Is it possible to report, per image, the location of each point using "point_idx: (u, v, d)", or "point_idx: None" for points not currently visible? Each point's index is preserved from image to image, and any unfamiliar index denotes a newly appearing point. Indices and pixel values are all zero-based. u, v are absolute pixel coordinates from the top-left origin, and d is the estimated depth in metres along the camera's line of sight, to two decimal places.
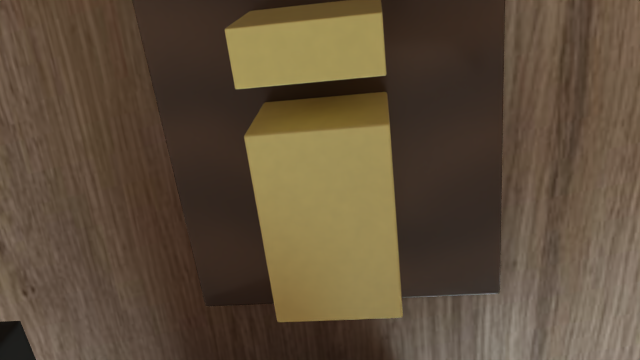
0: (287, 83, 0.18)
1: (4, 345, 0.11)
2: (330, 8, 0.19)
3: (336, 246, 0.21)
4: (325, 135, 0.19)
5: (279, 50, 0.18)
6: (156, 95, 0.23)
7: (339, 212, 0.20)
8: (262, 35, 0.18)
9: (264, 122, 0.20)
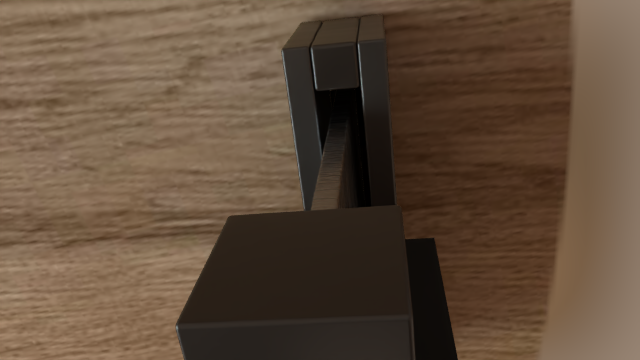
0: None
1: None
2: None
3: None
4: None
5: None
6: None
7: None
8: None
9: None
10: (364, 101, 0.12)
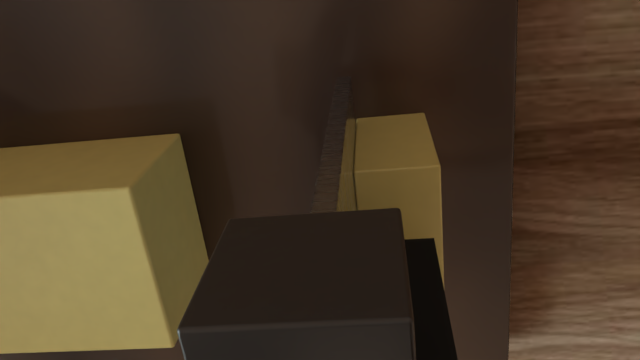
0: None
1: None
2: None
3: None
4: (148, 284, 0.15)
5: (406, 231, 0.14)
6: None
7: (45, 295, 0.15)
8: (427, 212, 0.13)
9: (152, 186, 0.15)
10: None
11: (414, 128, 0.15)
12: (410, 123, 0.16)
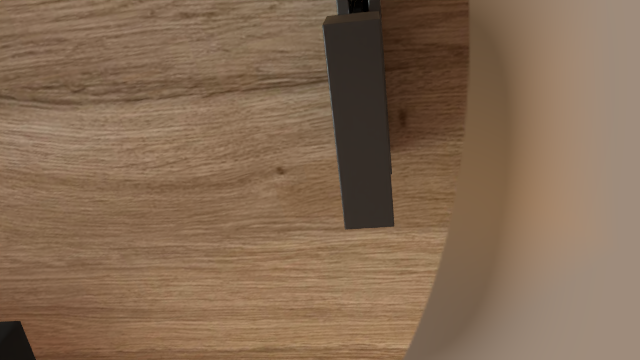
0: None
1: (4, 344, 0.11)
2: None
3: None
4: None
5: None
6: None
7: None
8: None
9: None
10: None
11: None
12: None
